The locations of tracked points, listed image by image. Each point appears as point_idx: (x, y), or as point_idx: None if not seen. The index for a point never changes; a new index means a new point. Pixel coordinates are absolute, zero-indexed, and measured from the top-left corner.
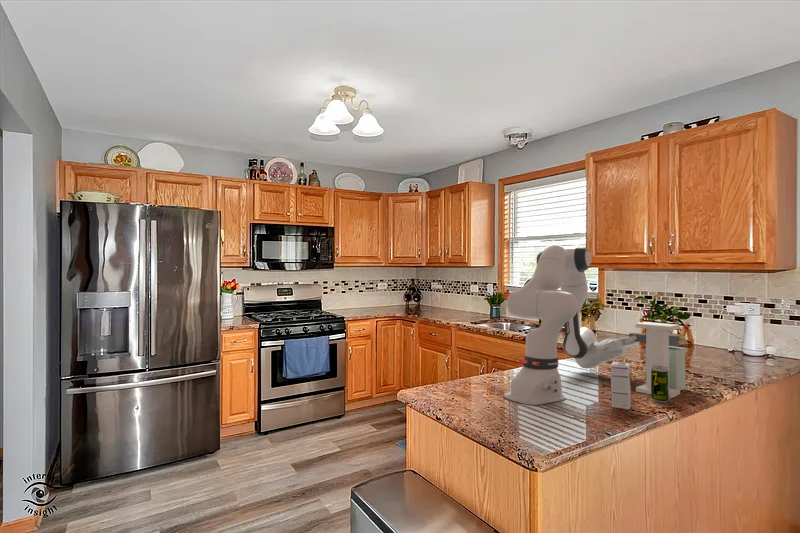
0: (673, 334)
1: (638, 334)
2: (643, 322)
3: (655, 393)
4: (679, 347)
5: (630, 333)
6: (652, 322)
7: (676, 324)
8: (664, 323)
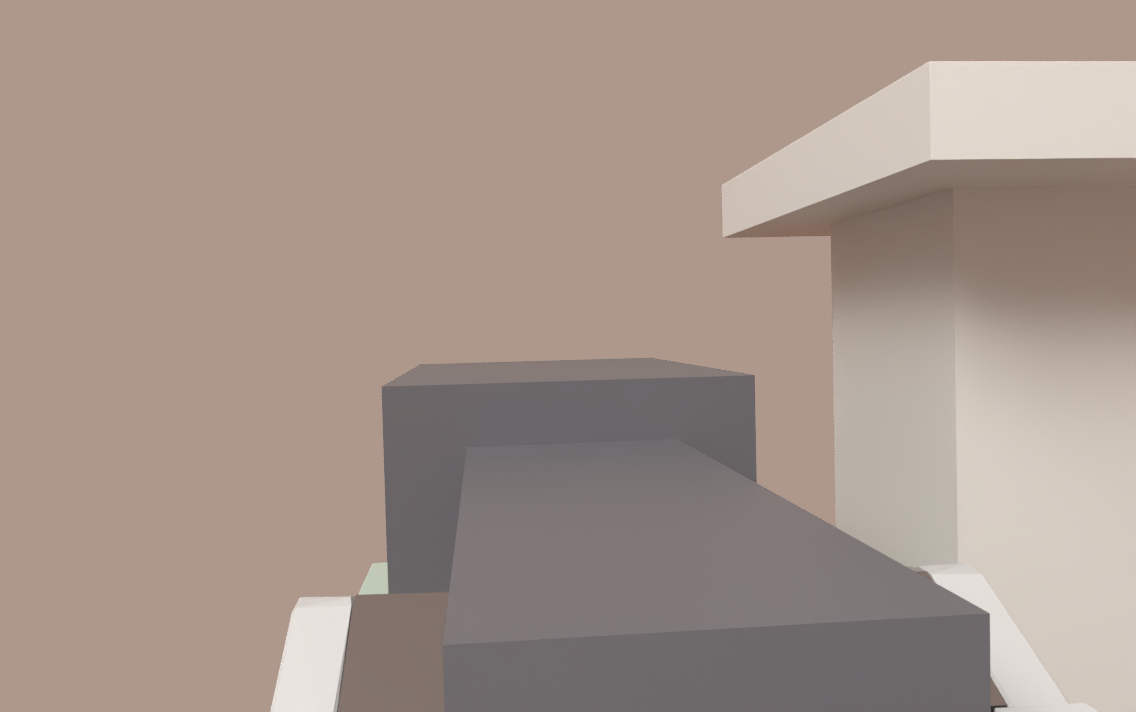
0: (479, 366)
1: (787, 507)
2: (1094, 69)
3: None
4: (384, 581)
5: (938, 591)
6: (870, 103)
7: (734, 179)
8: (784, 149)
